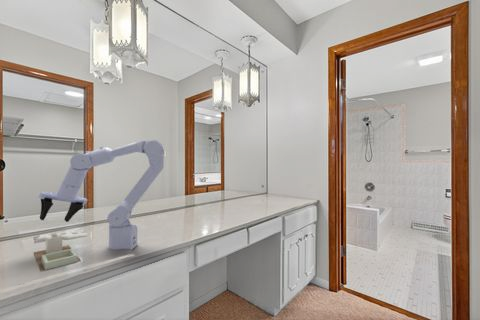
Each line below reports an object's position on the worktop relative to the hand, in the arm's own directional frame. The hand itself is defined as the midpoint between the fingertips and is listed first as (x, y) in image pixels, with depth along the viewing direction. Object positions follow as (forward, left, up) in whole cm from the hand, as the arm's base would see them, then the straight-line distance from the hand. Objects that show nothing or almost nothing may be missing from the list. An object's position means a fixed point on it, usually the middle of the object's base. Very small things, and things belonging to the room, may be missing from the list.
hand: (54, 220), depth 82 cm
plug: (-1, +1, -11) cm, 11 cm away
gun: (+7, -15, -13) cm, 21 cm away
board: (-5, +5, -12) cm, 14 cm away
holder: (-9, +9, -12) cm, 17 cm away
